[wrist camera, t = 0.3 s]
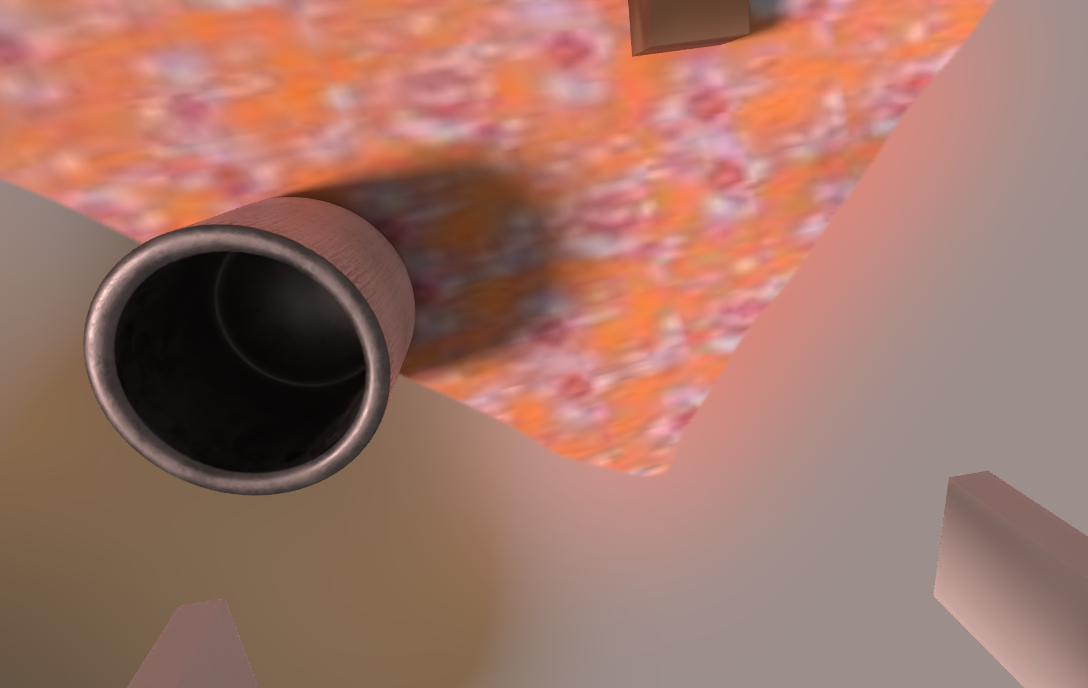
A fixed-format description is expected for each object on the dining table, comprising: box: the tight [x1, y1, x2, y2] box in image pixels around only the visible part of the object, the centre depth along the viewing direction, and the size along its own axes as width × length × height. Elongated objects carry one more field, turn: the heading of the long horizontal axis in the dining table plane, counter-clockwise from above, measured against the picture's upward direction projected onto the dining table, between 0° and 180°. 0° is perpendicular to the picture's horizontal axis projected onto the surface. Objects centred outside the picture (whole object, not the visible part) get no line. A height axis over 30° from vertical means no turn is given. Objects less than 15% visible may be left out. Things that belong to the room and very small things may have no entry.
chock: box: [628, 0, 750, 56], centre depth 31 cm, size 4×5×4 cm
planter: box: [84, 197, 415, 495], centre depth 31 cm, size 12×13×11 cm
